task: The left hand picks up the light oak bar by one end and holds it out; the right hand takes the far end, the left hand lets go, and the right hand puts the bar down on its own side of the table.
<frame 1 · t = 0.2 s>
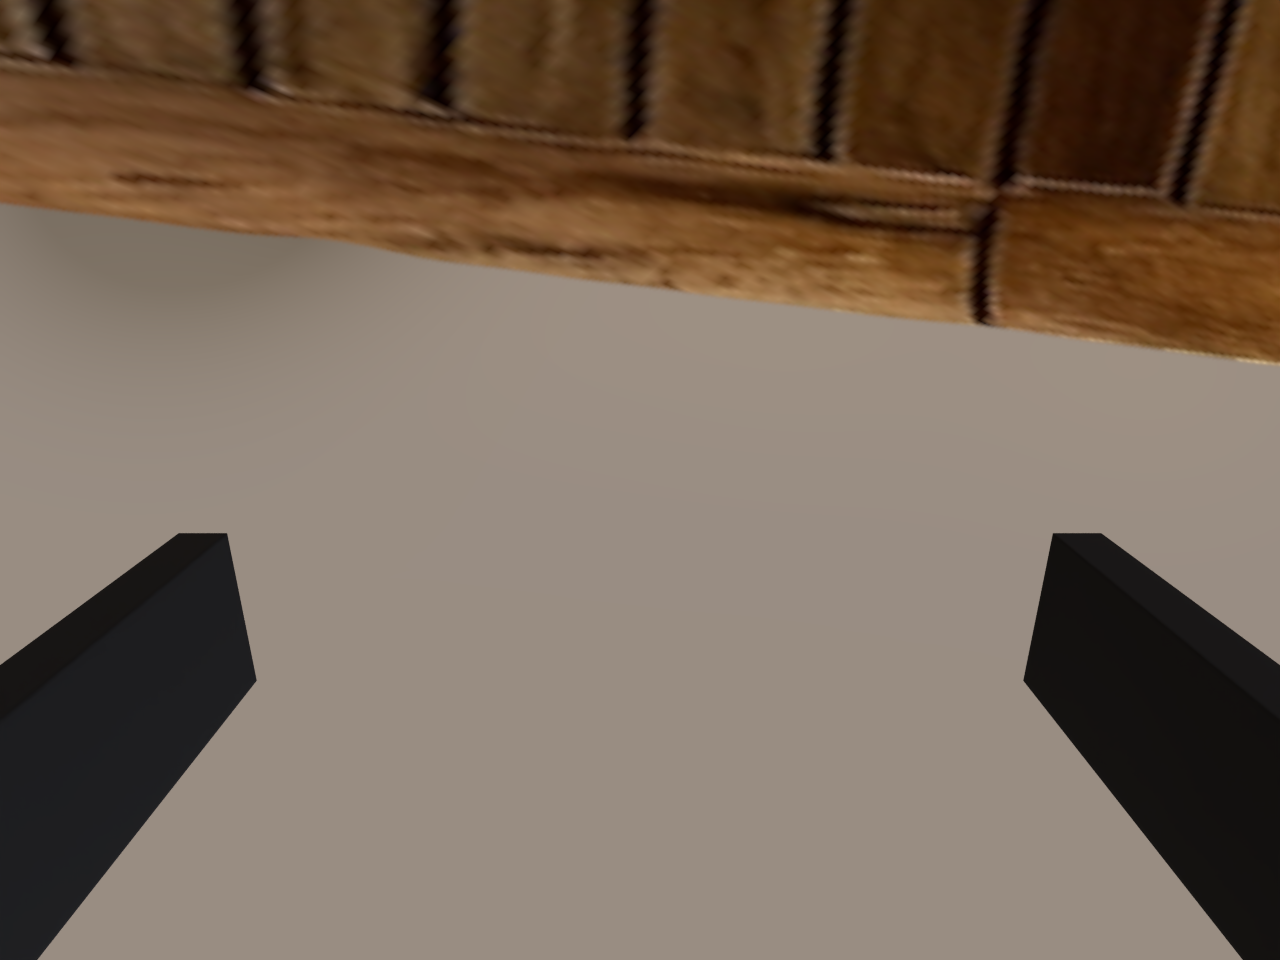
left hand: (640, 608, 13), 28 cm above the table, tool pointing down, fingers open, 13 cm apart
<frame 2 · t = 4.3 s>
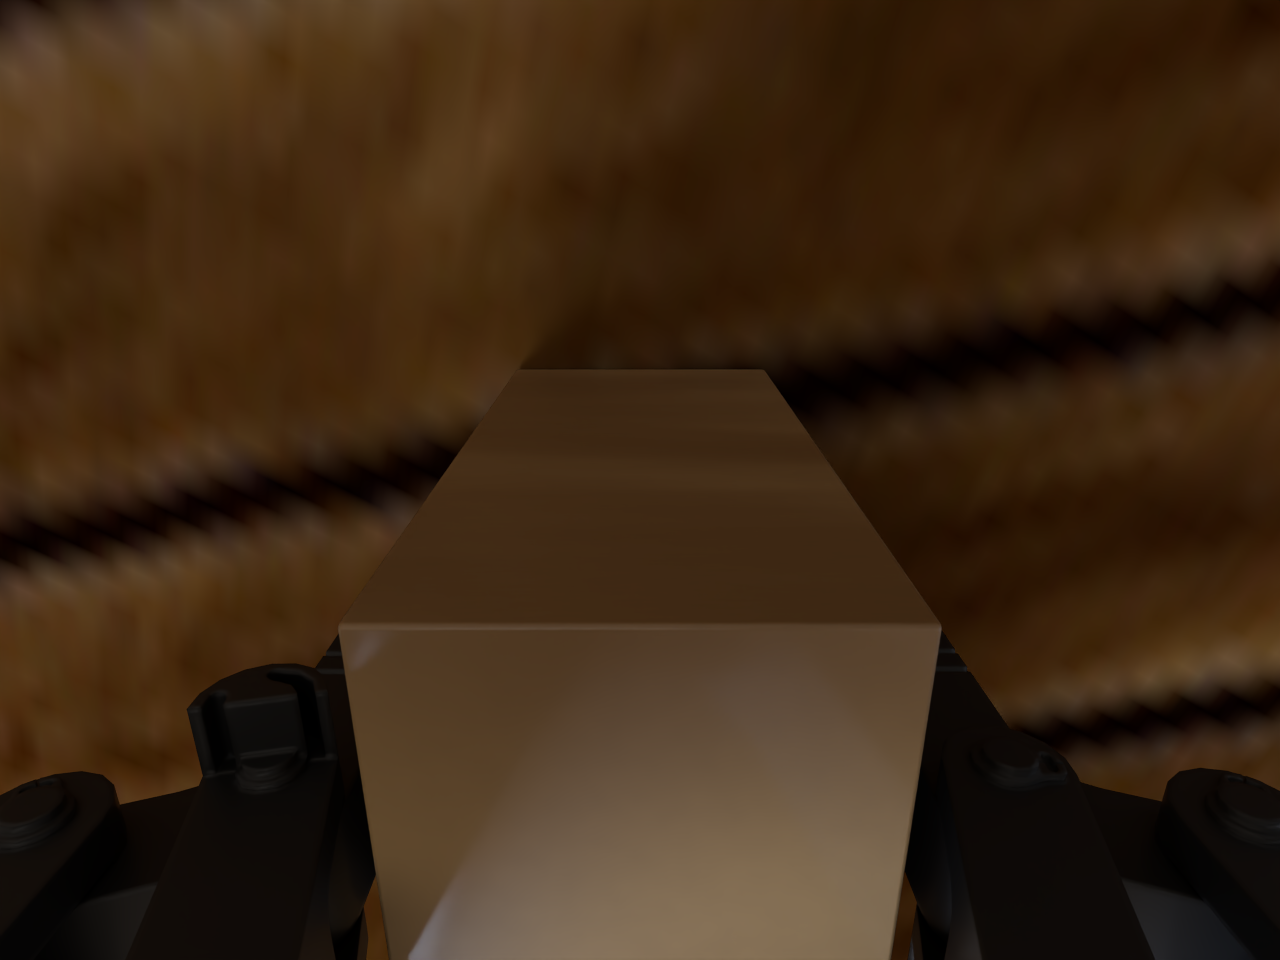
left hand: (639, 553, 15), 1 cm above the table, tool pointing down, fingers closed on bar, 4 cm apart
bar: (640, 854, 18), on the table, touching left hand
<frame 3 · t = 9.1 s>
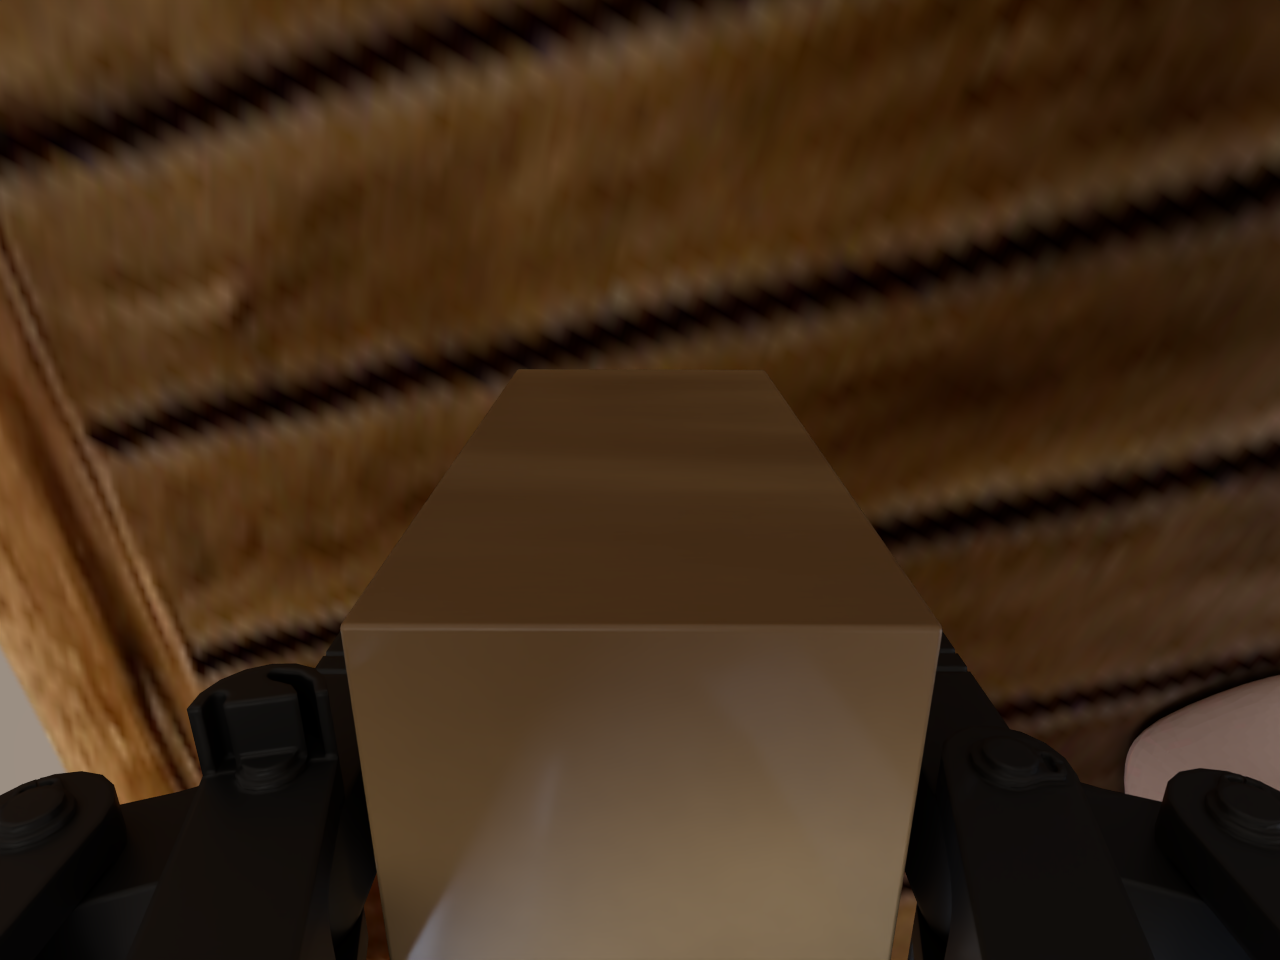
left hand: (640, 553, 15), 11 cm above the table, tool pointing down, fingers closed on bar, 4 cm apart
anatomical model: (1279, 792, 31), on the table
bar: (639, 853, 18), point 11 cm above the table, touching left hand, right hand
when the left hand's fingers open (11 cm above the table, at t = 9.6 s): bar stays where it is, held by the right hand.
when the right hand's fingers open (2 cm above the table, at t = 18.2 s): bar drops 1 cm, on the table.
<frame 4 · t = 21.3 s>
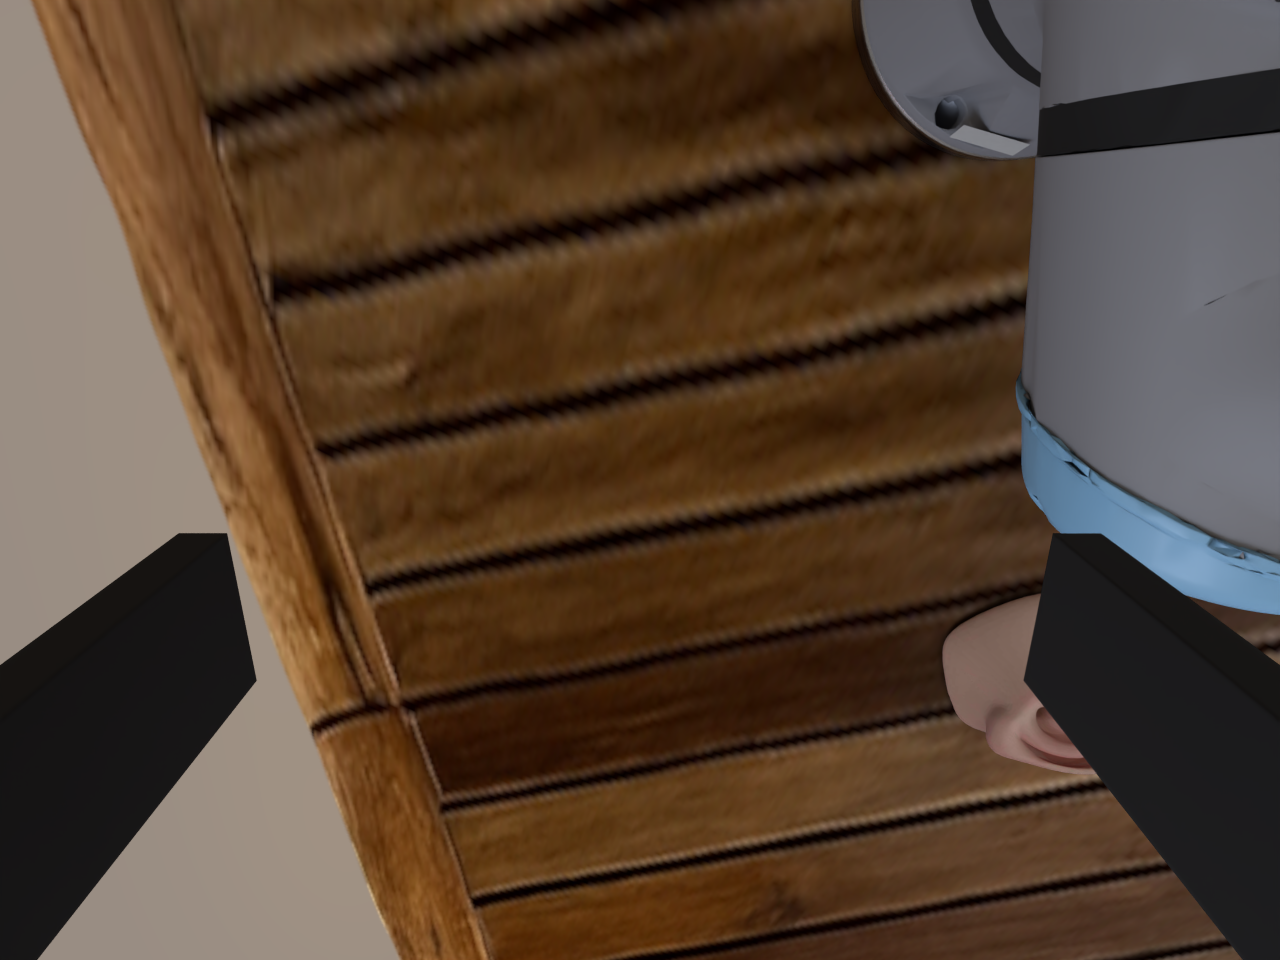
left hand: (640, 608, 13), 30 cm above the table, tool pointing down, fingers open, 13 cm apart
anatomical model: (1043, 672, 49), on the table
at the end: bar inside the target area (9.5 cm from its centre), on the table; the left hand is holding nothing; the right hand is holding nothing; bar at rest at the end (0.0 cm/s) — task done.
